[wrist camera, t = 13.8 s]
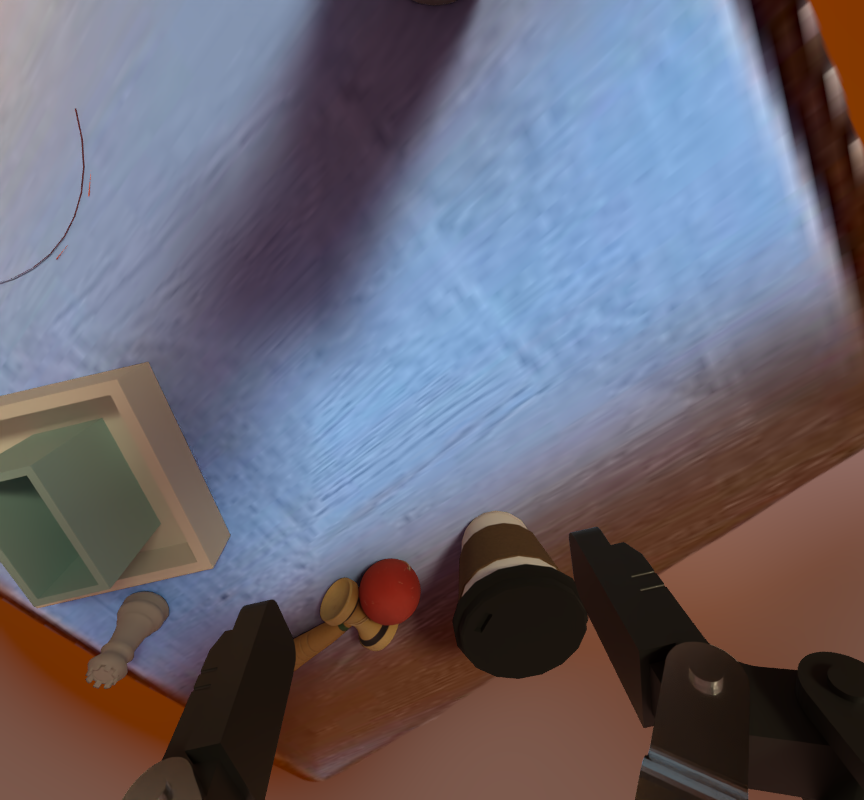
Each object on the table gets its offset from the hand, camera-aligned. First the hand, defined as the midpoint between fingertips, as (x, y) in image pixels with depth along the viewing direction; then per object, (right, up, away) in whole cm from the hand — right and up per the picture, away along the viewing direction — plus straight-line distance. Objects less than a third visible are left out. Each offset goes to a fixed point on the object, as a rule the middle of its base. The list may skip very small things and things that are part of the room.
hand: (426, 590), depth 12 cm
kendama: (-9, -16, +36) cm, 41 cm away
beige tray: (-29, -2, +29) cm, 41 cm away
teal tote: (-29, -2, +28) cm, 40 cm away
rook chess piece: (-29, -16, +34) cm, 48 cm away
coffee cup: (+6, -9, +34) cm, 36 cm away
